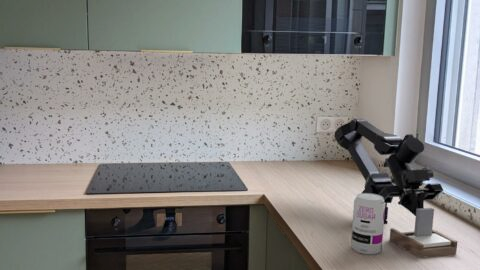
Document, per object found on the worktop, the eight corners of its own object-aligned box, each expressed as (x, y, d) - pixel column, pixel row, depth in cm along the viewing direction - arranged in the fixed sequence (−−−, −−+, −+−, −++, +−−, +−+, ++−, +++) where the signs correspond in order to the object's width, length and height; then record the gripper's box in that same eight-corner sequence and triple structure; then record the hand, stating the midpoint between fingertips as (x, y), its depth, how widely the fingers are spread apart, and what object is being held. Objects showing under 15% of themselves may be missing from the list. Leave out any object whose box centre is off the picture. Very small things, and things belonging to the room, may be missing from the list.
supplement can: (376, 244, 149) (380, 192, 147) (385, 255, 141) (389, 201, 139) (347, 243, 149) (351, 192, 147) (355, 255, 141) (359, 200, 139)
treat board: (389, 240, 153) (390, 228, 153) (424, 236, 157) (425, 225, 157) (419, 257, 141) (420, 245, 140) (456, 253, 145) (457, 241, 144)
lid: (407, 239, 148) (409, 209, 146) (434, 236, 151) (437, 207, 149) (422, 247, 142) (425, 216, 140) (450, 244, 145) (454, 214, 143)
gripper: (387, 158, 148) (408, 207, 139) (442, 156, 154) (465, 203, 146) (369, 178, 157) (388, 226, 148) (422, 176, 163) (443, 222, 154)
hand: (422, 219), depth 149 cm, fingers closed, pressing on lid
